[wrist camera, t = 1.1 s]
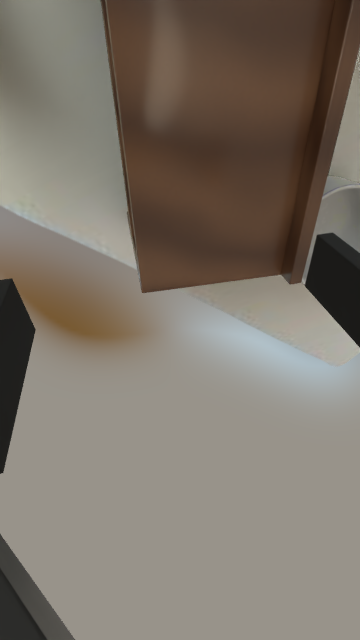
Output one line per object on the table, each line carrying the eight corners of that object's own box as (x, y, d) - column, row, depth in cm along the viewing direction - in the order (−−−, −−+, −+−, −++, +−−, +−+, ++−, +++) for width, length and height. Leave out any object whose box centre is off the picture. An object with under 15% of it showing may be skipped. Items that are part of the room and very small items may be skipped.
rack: (90, -61, 22) (83, -204, 10) (256, -58, 24) (416, -179, 12) (128, 222, 35) (144, 305, 23) (234, 211, 36) (301, 283, 24)
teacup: (258, 263, 41) (286, 298, 35) (259, 176, 34) (294, 200, 28) (359, 239, 42) (404, 269, 36) (380, 149, 35) (440, 167, 29)
